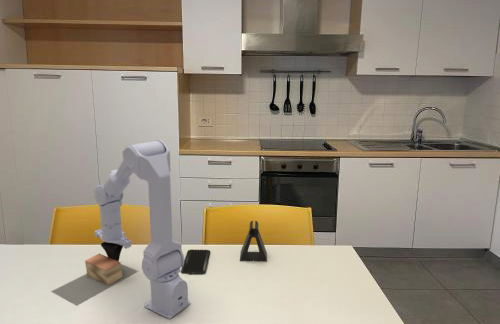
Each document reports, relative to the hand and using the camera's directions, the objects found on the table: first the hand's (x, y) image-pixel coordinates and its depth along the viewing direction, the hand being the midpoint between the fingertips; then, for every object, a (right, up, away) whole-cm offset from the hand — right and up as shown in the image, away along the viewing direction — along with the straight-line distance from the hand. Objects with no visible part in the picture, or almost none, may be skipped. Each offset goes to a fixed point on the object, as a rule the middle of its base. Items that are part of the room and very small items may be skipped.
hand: (114, 263), depth 117 cm
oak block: (-2, -3, -2) cm, 5 cm away
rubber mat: (-3, -4, -5) cm, 7 cm away
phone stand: (+43, -1, +11) cm, 45 cm away
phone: (+24, -2, +7) cm, 25 cm away
